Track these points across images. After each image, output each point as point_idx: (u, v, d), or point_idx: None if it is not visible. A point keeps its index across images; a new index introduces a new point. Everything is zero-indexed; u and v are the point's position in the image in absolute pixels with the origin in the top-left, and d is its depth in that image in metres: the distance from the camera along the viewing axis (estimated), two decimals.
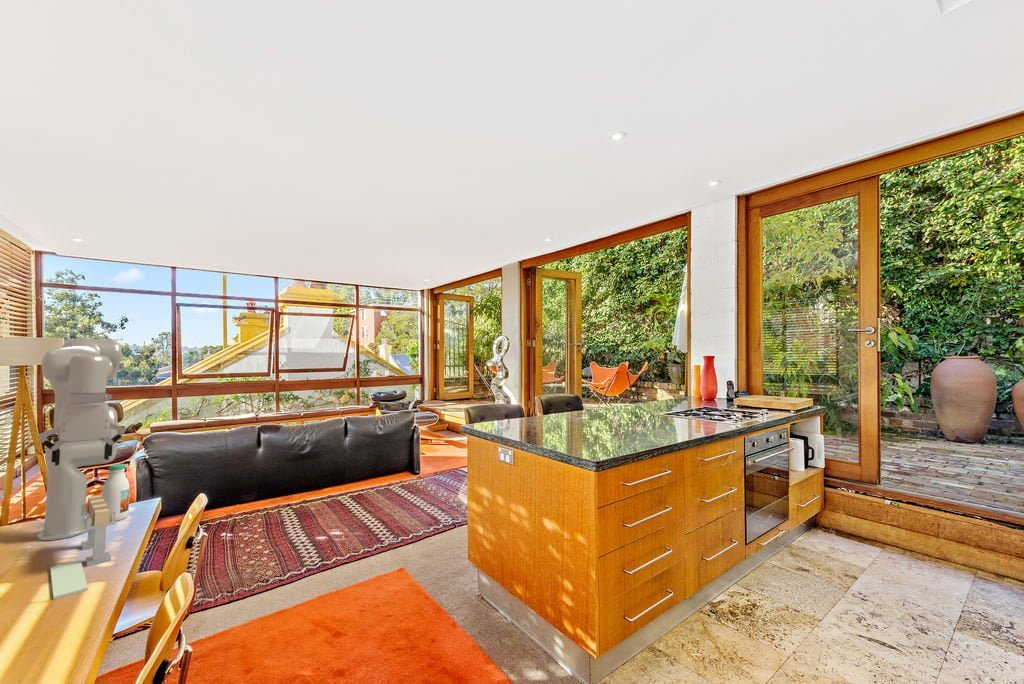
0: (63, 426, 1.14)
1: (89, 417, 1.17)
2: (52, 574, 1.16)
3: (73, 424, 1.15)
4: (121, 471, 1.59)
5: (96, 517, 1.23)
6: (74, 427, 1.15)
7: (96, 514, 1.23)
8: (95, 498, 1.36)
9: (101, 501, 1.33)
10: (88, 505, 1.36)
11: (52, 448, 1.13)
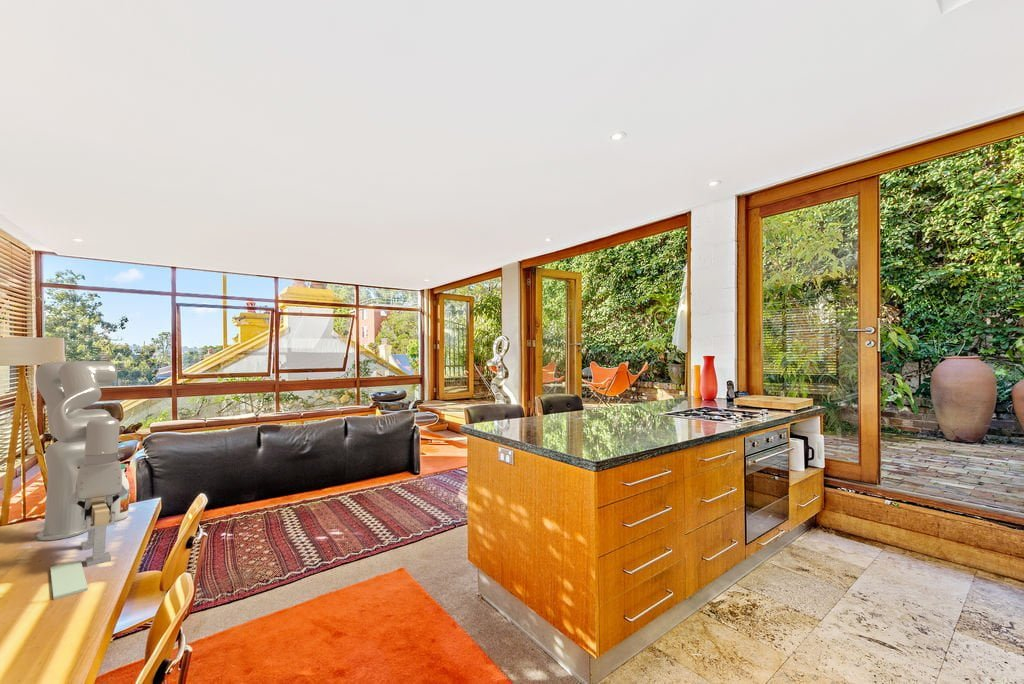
0: (81, 485, 1.27)
1: (104, 475, 1.31)
2: (52, 574, 1.16)
3: (89, 483, 1.29)
4: None
5: (96, 517, 1.23)
6: (91, 486, 1.29)
7: (96, 514, 1.23)
8: (95, 498, 1.36)
9: (101, 501, 1.33)
10: None
11: (85, 508, 1.28)
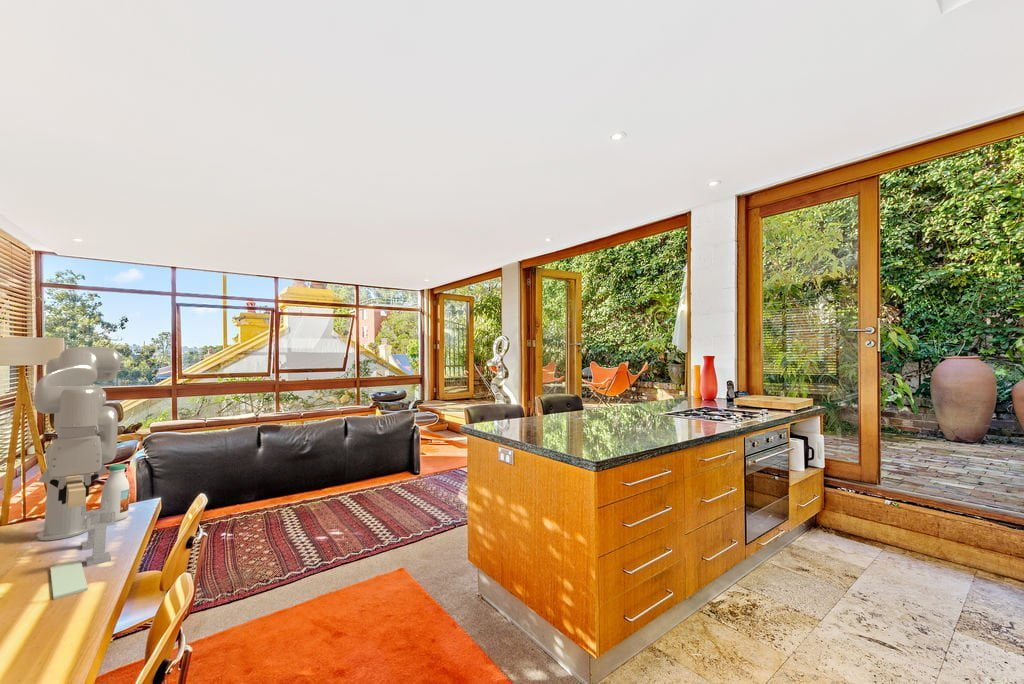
0: (54, 461, 1.12)
1: (80, 451, 1.15)
2: (52, 574, 1.16)
3: (63, 459, 1.13)
4: (121, 471, 1.59)
5: (70, 497, 1.08)
6: (65, 462, 1.13)
7: (70, 493, 1.08)
8: (72, 478, 1.21)
9: (78, 480, 1.18)
10: None
11: (59, 487, 1.13)
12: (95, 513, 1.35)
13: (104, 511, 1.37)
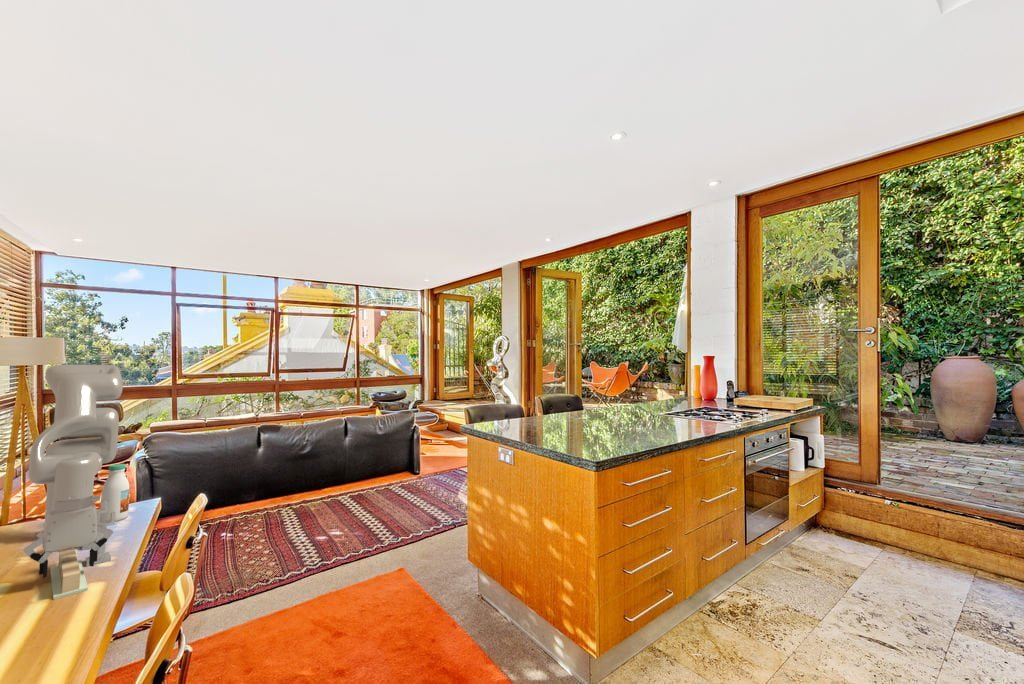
0: (48, 536, 1.11)
1: (76, 523, 1.14)
2: (52, 574, 1.16)
3: (58, 533, 1.12)
4: (121, 471, 1.59)
5: (64, 582, 1.06)
6: (60, 536, 1.12)
7: (64, 578, 1.06)
8: (67, 553, 1.19)
9: (73, 558, 1.17)
10: (59, 561, 1.19)
11: (39, 561, 1.10)
12: None
13: (104, 511, 1.37)
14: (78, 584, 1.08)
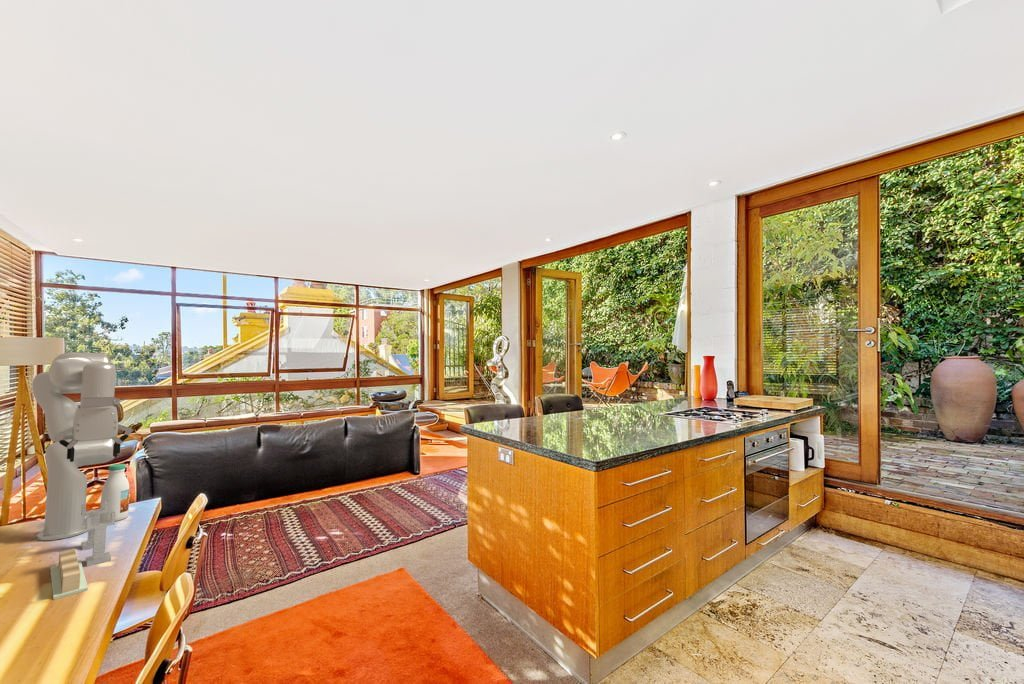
0: (77, 427, 1.28)
1: (100, 419, 1.32)
2: (52, 574, 1.16)
3: (85, 425, 1.30)
4: (121, 471, 1.59)
5: (64, 582, 1.06)
6: (87, 428, 1.30)
7: (64, 578, 1.06)
8: (67, 553, 1.19)
9: (73, 558, 1.17)
10: (59, 561, 1.19)
11: (67, 446, 1.27)
12: (95, 513, 1.35)
13: (104, 511, 1.37)
14: (78, 584, 1.08)
